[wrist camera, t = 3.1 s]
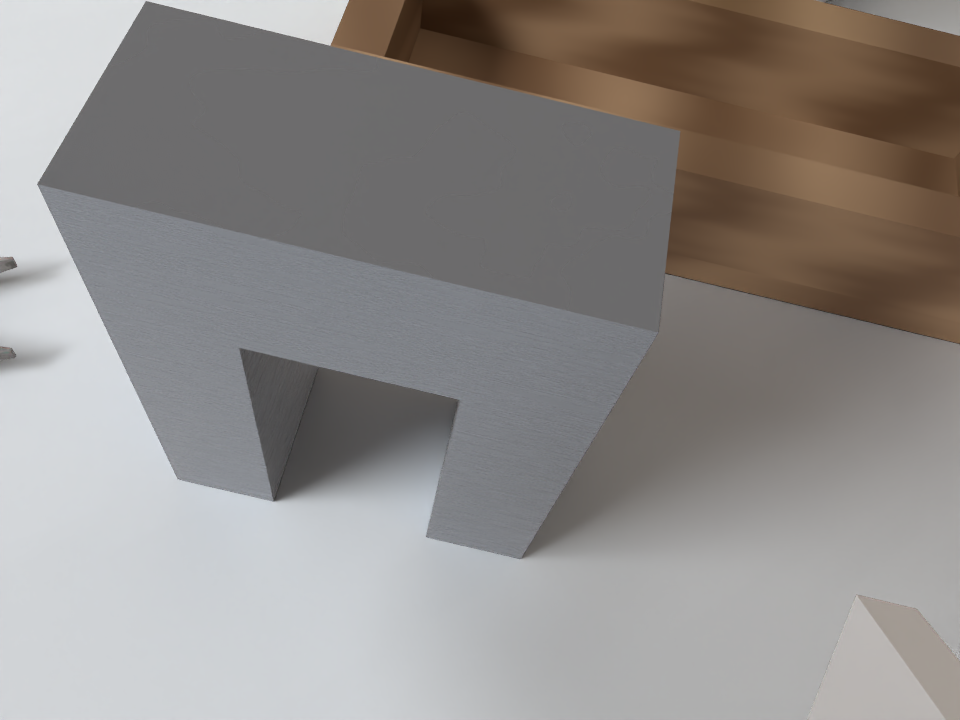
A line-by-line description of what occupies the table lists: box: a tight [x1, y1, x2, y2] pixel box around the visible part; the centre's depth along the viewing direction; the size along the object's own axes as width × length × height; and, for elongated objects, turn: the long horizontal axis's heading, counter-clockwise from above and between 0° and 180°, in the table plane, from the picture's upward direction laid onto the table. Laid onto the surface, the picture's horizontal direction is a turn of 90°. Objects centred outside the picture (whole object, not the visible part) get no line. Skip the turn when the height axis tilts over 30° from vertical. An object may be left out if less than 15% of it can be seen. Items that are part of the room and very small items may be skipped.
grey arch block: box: [37, 1, 680, 559], centre depth 18 cm, size 9×4×12 cm, turn 79°
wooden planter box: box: [331, 0, 960, 344], centre depth 28 cm, size 22×8×4 cm, turn 79°
